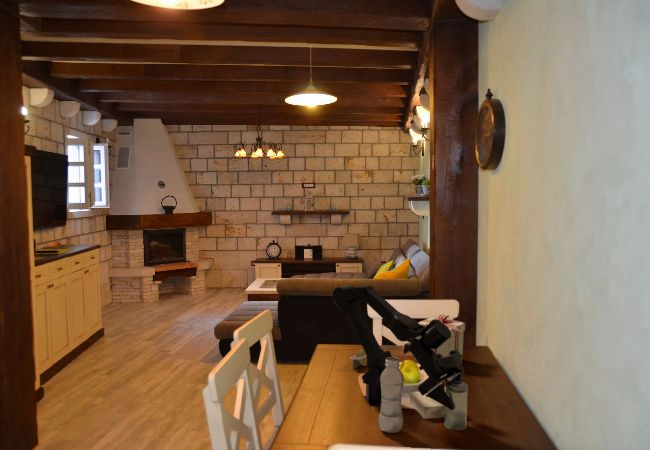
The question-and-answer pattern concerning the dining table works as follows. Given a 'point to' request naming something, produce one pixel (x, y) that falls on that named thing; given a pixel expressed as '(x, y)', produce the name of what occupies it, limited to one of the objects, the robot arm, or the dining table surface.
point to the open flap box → (359, 358)
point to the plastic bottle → (391, 397)
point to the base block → (427, 406)
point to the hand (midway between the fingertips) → (460, 404)
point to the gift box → (456, 335)
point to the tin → (456, 405)
